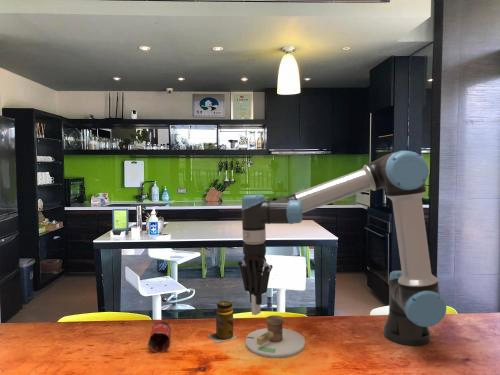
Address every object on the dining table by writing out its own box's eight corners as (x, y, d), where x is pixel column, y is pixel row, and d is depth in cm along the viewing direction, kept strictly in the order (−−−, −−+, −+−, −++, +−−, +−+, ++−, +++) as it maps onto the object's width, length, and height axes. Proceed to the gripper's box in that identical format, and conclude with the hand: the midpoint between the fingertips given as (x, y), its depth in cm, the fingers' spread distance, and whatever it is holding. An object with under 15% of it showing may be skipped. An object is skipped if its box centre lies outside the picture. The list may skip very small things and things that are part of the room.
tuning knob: (272, 333, 137) (272, 314, 137) (287, 338, 133) (287, 317, 133) (251, 346, 127) (251, 325, 127) (266, 351, 123) (266, 329, 123)
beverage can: (171, 337, 139) (171, 318, 139) (170, 352, 127) (170, 332, 127) (151, 338, 138) (150, 319, 138) (147, 354, 126) (147, 333, 126)
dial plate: (305, 333, 141) (305, 329, 141) (304, 360, 121) (304, 354, 121) (250, 330, 144) (250, 325, 144) (240, 355, 125) (240, 350, 125)
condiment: (238, 337, 138) (237, 304, 138) (216, 343, 134) (216, 308, 133) (227, 330, 144) (227, 298, 144) (206, 336, 140) (206, 302, 139)
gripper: (231, 242, 129) (233, 312, 130) (262, 246, 121) (264, 321, 122) (246, 238, 135) (248, 306, 136) (277, 242, 127) (279, 314, 128)
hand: (256, 313), depth 129 cm, fingers closed
